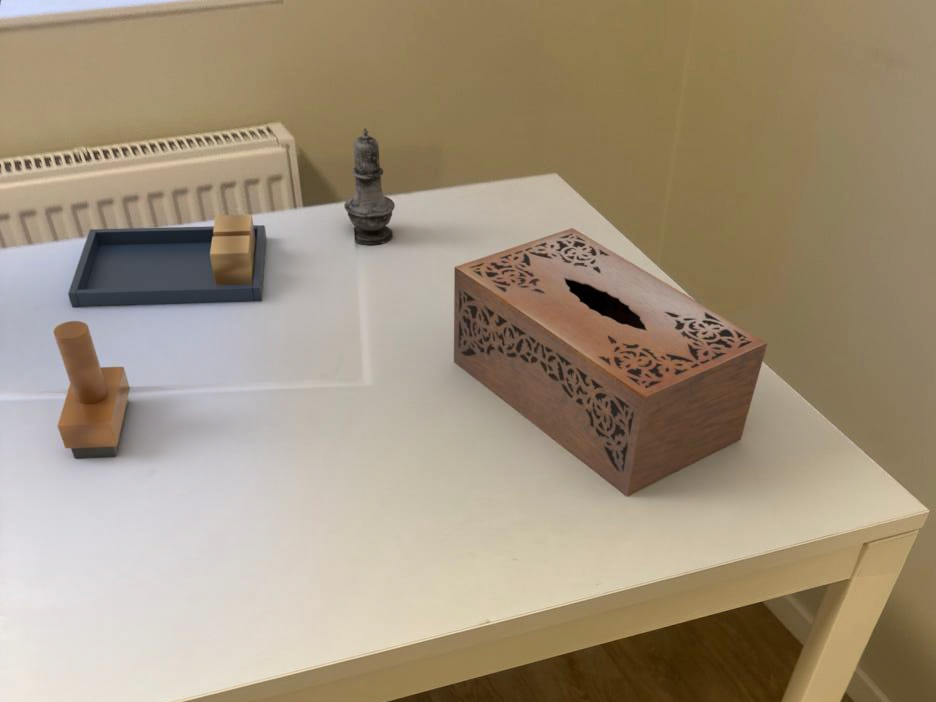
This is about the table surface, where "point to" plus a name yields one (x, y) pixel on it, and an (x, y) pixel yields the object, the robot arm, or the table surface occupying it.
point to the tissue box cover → (604, 356)
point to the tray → (157, 268)
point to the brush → (90, 396)
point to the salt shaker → (369, 195)
